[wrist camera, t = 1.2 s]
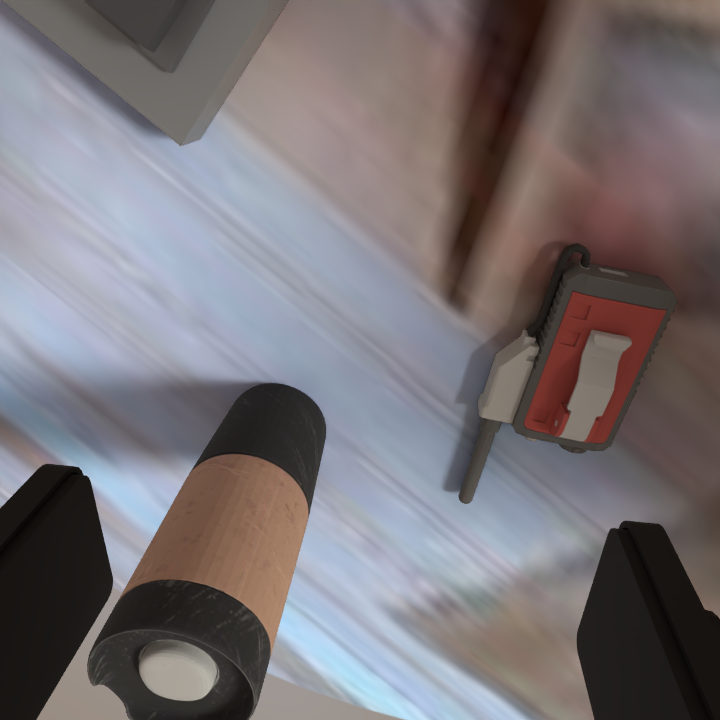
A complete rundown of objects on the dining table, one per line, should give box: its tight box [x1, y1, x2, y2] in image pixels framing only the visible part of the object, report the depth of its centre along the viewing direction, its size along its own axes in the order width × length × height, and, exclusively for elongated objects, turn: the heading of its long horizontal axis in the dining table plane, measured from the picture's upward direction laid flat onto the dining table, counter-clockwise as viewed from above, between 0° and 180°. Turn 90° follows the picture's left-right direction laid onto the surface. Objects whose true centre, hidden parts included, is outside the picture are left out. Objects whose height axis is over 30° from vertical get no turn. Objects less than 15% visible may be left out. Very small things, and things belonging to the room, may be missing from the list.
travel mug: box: [87, 384, 326, 720], centre depth 33 cm, size 8×8×20 cm
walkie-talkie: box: [459, 244, 677, 504], centre depth 37 cm, size 9×4×20 cm
